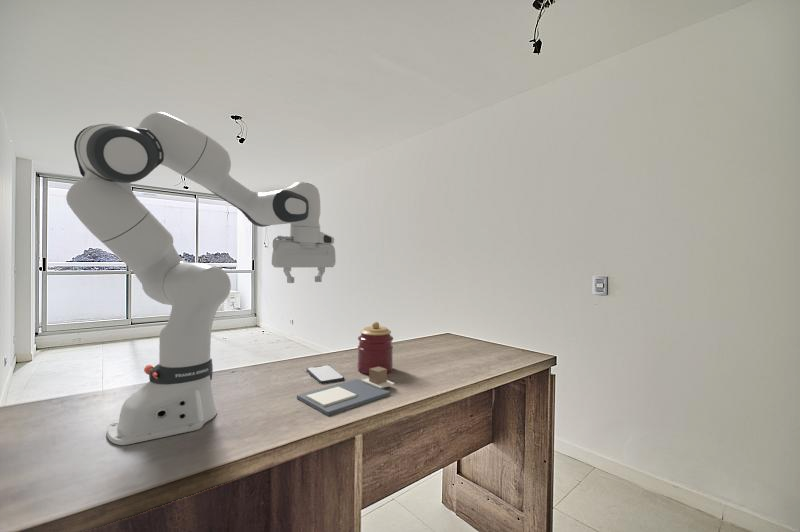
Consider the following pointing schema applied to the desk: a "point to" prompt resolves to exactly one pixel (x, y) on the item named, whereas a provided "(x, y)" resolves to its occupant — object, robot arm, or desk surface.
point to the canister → (375, 348)
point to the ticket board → (342, 396)
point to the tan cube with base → (378, 378)
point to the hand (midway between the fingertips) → (304, 282)
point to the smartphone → (325, 374)
